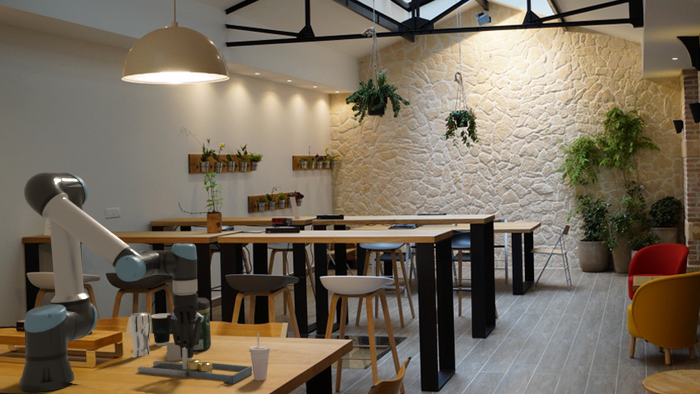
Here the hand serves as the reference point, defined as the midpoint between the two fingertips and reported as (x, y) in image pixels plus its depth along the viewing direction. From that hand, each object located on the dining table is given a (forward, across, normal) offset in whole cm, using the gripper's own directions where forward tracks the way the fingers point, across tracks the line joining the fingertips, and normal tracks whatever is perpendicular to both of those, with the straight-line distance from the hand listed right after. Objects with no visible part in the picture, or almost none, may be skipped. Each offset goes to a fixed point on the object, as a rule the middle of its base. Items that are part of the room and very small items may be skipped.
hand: (187, 367), depth 209 cm
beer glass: (+3, +30, -16) cm, 34 cm away
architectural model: (+3, +14, -12) cm, 19 cm away
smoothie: (+3, -24, -4) cm, 24 cm away
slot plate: (+3, +6, 0) cm, 7 cm away
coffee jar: (+3, +17, -32) cm, 36 cm away
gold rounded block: (+2, -3, 0) cm, 3 cm away
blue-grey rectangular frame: (+3, -11, -2) cm, 11 cm away
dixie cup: (+3, +35, -34) cm, 49 cm away
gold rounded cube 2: (+2, -7, 0) cm, 7 cm away
